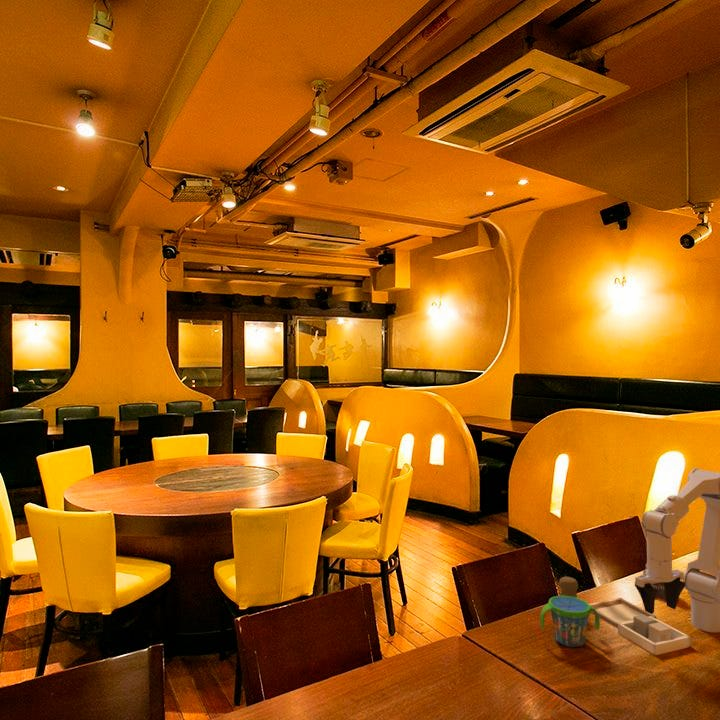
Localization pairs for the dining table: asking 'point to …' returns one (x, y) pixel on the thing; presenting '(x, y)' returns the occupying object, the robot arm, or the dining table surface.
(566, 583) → the cork
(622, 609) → the beech tray
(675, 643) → the pale wooden open box
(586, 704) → the dining table surface
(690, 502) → the robot arm
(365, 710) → the dining table surface
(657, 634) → the beige cuboid
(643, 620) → the grey rectangular prism
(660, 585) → the cupcake
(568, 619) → the snack cup
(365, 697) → the dining table surface
